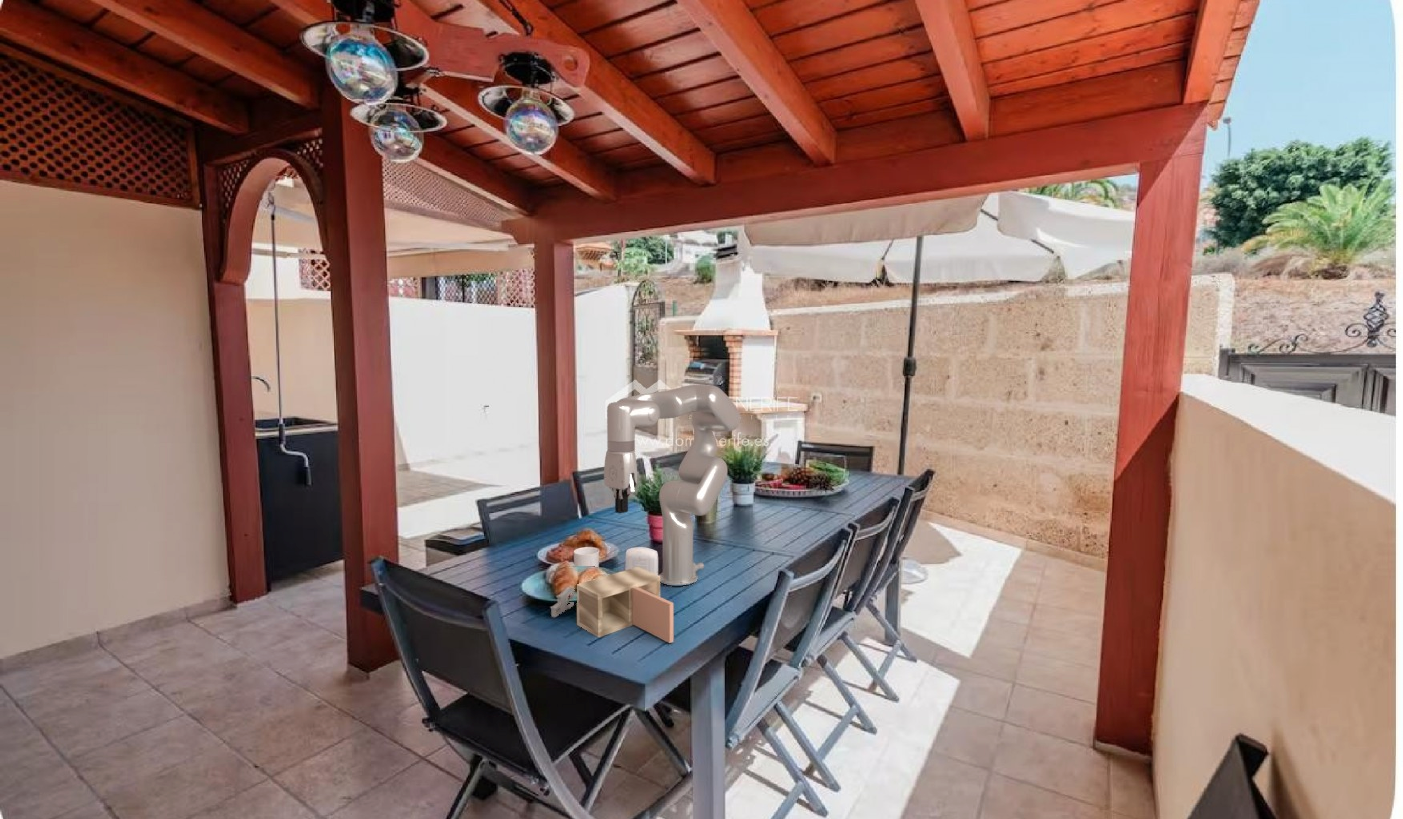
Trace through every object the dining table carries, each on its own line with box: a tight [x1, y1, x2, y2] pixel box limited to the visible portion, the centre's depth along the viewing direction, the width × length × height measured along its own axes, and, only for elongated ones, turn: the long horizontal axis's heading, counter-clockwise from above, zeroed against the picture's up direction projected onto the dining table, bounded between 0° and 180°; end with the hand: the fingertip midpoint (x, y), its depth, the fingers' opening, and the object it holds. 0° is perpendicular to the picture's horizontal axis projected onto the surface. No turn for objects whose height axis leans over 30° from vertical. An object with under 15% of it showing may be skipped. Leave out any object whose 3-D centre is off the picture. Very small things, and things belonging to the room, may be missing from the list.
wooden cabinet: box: [576, 567, 661, 638], centre depth 167 cm, size 20×11×11 cm, turn 133°
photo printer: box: [624, 546, 659, 575], centre depth 191 cm, size 10×4×12 cm, turn 78°
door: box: [632, 587, 674, 644], centre depth 159 cm, size 15×2×10 cm, turn 43°
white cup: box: [573, 546, 600, 569], centre depth 195 cm, size 8×8×10 cm
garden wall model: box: [549, 586, 575, 618], centre depth 174 cm, size 12×2×6 cm, turn 159°
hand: (621, 512), depth 175 cm, fingers closed
